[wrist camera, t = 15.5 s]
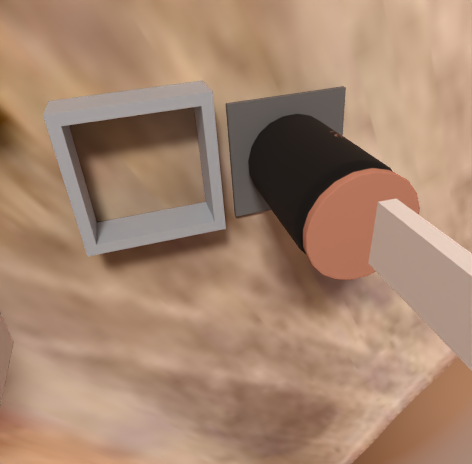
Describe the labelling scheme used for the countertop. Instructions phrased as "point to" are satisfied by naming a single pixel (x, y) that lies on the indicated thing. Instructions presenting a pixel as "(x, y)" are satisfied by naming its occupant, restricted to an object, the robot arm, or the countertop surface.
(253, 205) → the pad
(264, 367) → the countertop surface
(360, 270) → the coffee jar
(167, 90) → the pocket frame
